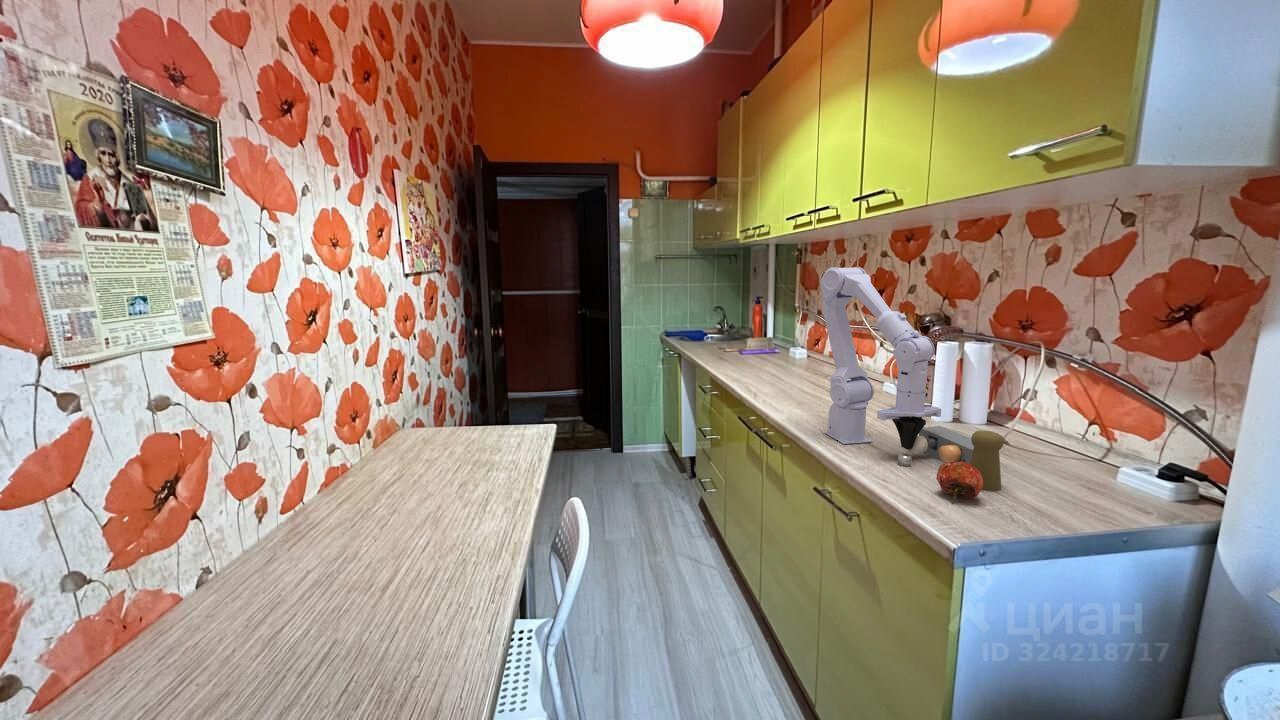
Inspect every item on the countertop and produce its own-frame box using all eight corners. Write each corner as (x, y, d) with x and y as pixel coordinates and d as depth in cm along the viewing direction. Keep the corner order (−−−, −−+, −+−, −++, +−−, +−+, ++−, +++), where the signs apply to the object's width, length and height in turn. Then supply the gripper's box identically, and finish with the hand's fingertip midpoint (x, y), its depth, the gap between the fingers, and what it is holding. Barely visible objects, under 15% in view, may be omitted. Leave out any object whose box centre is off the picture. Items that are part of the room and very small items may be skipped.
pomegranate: (979, 520, 89) (995, 476, 93) (967, 495, 86) (985, 451, 90) (935, 509, 95) (953, 468, 99) (922, 486, 92) (941, 445, 96)
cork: (1008, 491, 95) (1014, 436, 93) (977, 491, 95) (982, 437, 94) (987, 478, 101) (993, 427, 99) (958, 478, 101) (962, 427, 100)
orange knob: (938, 459, 108) (939, 443, 108) (976, 456, 110) (977, 440, 109) (950, 465, 105) (952, 449, 104) (989, 461, 106) (991, 446, 106)
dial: (895, 463, 110) (895, 454, 110) (905, 462, 111) (906, 453, 110) (903, 467, 108) (903, 458, 108) (913, 466, 108) (914, 457, 108)
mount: (917, 449, 119) (919, 427, 118) (938, 447, 119) (940, 426, 118) (971, 475, 103) (973, 450, 102) (994, 473, 104) (997, 448, 103)
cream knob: (906, 449, 115) (907, 434, 114) (943, 446, 116) (944, 431, 116) (917, 454, 111) (918, 439, 111) (954, 451, 113) (956, 436, 112)
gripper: (892, 396, 106) (888, 456, 108) (953, 392, 108) (948, 451, 110) (873, 389, 113) (869, 445, 115) (930, 385, 115) (925, 441, 117)
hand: (906, 448), depth 113 cm, fingers closed
